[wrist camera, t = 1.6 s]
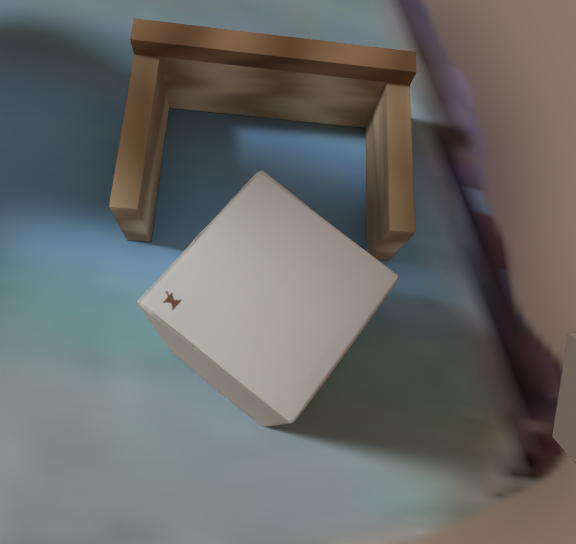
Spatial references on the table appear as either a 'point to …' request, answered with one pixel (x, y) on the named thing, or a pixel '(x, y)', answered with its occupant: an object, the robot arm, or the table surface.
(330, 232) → the supplement box
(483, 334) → the table surface
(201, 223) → the table surface
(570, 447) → the robot arm
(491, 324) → the table surface
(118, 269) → the table surface
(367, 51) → the brown wooden frame
